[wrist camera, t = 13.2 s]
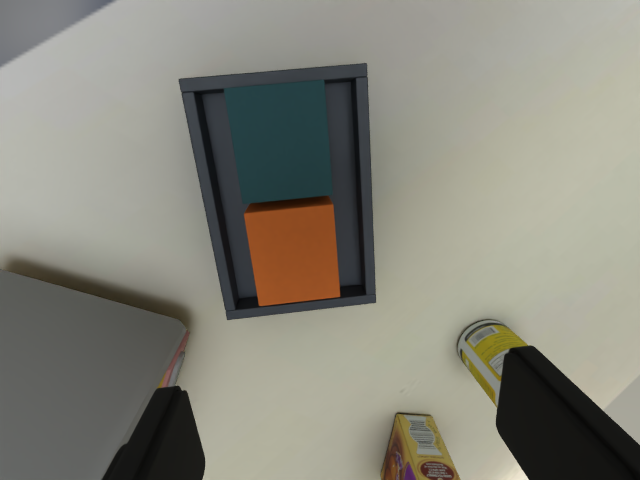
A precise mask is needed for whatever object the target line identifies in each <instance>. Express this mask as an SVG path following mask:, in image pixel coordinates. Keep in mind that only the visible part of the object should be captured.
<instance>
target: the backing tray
mask: <svg viewBox="0 0 640 480" xmlns="http://www.w3.org/2000/svg"><path fill="white" fill-rule="evenodd" d="M313 80H324V82H325V95H326V108H327V121H328V135H329V148H330V161H331V174H332V188H333V195H329V198H330V200H331V201H332V203H333V206H334V219H335V232H336V245H337V258H338V272H339V285H340V297H335V298H326V299H318V300H309V301H300V302H292V303H283V304H274V305H266V306H259V303H258V297H257V291H256V285H255V279H254V273H253V267H252V261H251V255H250V249H249V243H248V236H247V230H246V224H245V218H244V213H245V211H246V209H247V208H248V206H249V204H243V203H242V198H241V192H240V186H239V180H238V174H237V168H236V161H235V155H234V149H233V143H232V137H231V131H230V125H229V119H228V113H227V107H226V101H225V95H224V88H232V87H244V86H255V85H267V84H279V83H290V82H302V81H313ZM179 84H180V89H181V92H182V98H183V103H184V108H185V113H186V118H187V123H188V128H189V133H190V138H191V143H192V148H193V153H194V158H195V163H196V167H197V172H198V177H199V182H200V187H201V192H202V197H203V202H204V207H205V212H206V217H207V222H208V227H209V232H210V237H211V241H212V246H213V251H214V256H215V261H216V266H217V271H218V276H219V281H220V286H221V291H222V296H223V301H224V306H225V310H226V316H227V320H232V319H240V318H249V317H258V316H266V315H275V314H283V313H292V312H301V311H309V310H318V309H326V308H335V307H344V306H352V305H361V304H369V303H376V294H375V293H376V289H375V263H374V236H373V210H372V183H371V157H370V130H369V104H368V78H367V63H362V64H350V65H338V66H326V67H315V68H303V69H291V70H279V71H267V72H255V73H243V74H231V75H220V76H208V77H196V78H184V79H179Z"/></svg>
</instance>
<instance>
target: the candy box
mask: <svg viewBox="0 0 640 480" xmlns="http://www.w3.org/2000/svg"><path fill="white" fill-rule="evenodd" d="M381 479H382V480H460V477H459V475H458V473H457V471H456V469H455V466H454V464H453V462H452V460H451V458H450V455H449V453H448V451H447V449H446V446H445V444H444V442H443V440H442V438H441V436H440V433H439V431H438V429H437V427H436V424H435V422H434V420H433V417H432V416H423V415H408V414H406V415H405V414H397V415H396V418H395V422H394V427H393V431H392V435H391V439H390V443H389V446H388V450H387V454H386V458H385V462H384V465H383V469H382V472H381Z"/></svg>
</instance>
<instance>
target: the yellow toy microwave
mask: <svg viewBox="0 0 640 480" xmlns="http://www.w3.org/2000/svg"><path fill="white" fill-rule="evenodd" d="M188 336H189V332H188V330H186V328H185V326H184V325H183V324H182V322H181V321H180V320H179V319H175V318H171V317H168V316H164V315H161V314H157V313H154V312H150V311H147V310H143V309H140V308H136V307H133V306H129V305H126V304H122V303H118V302H115V301H111V300H108V299H104V298H101V297H97V296H94V295H90V294H87V293H83V292H80V291H76V290H72V289H69V288H65V287H62V286H58V285H55V284H51V283H48V282H44V281H41V280H37V279H34V278H30V277H27V276H23V275H19V274H16V273H12V272H9V271H5V270H2V269H0V480H102V478H103V477H104V475H105V473H106V471H107V469H108V467H109V466H110V464H111V462H112V460H113V458H114V456H115V454H116V453H117V451H118V450H119V448H120V447H121V446H123V445H124V444H126V443H128V441H129V439H130V437H131V435H132V433H133V431H134V429H135V427H136V426H137V424H138V422H139V420H140V418H141V416H142V414H143V412H144V410H145V408H146V407H147V405H148V403H149V401H150V399H151V397H152V395H153V393H154V392H155V390H156V389H157V388H163V387H171V386H175V384H176V381H177V377H178V374H179V371H180V368H181V365H182V362H183V359H184V356H185V352H184V349H185V346H186V343H187V339H188Z"/></svg>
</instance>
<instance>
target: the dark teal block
mask: <svg viewBox="0 0 640 480" xmlns="http://www.w3.org/2000/svg"><path fill="white" fill-rule="evenodd" d="M224 95H225V101H226V107H227V113H228V119H229V125H230V131H231V137H232V143H233V149H234V155H235V161H236V168H237V174H238V180H239V186H240V192H241V198H242V203H243V204H250V203H260V202H269V201H279V200H289V199H299V198H309V197H319V196H329V195H333V188H332V174H331V161H330V148H329V135H328V121H327V108H326V95H325V82H324V80H313V81H302V82H290V83H279V84H267V85H255V86H244V87H232V88H224Z"/></svg>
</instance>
